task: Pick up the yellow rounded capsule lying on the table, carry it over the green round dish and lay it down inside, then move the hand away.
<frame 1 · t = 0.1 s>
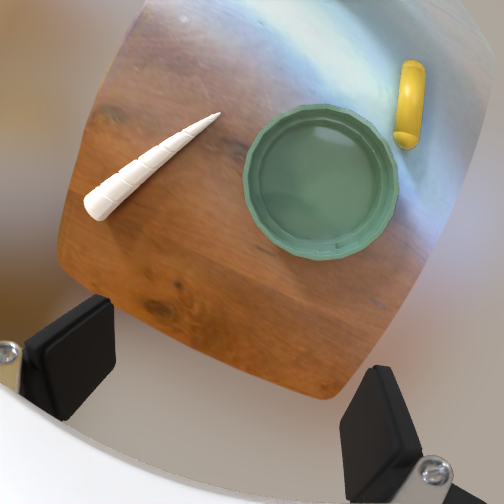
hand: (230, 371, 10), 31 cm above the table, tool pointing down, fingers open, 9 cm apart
unicorn horn: (149, 164, 40), on the table
green round dish: (319, 181, 37), on the table
yellow rounded capsule: (406, 105, 33), on the table
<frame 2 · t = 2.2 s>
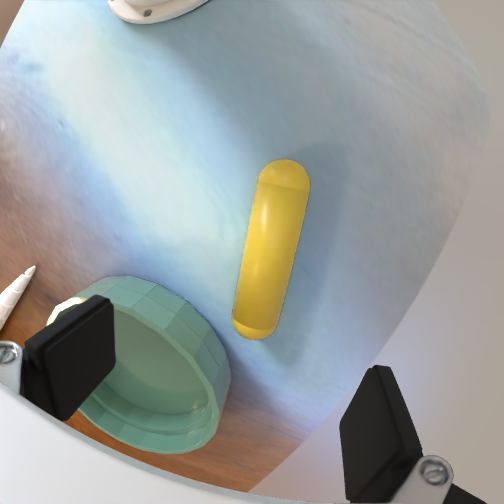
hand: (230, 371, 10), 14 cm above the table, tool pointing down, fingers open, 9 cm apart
unicorn horn: (6, 304, 30), on the table
green round dish: (144, 358, 27), on the table
yellow rounded capsule: (270, 249, 23), on the table
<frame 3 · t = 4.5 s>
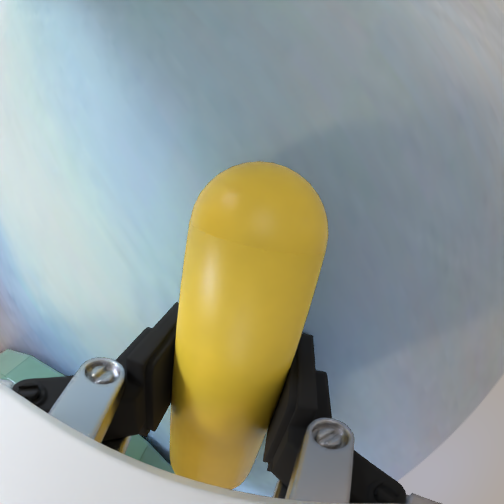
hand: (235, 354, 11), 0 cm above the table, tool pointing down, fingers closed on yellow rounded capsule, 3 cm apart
green round dish: (78, 448, 15), on the table
yellow rounded capsule: (237, 351, 11), on the table, touching gripper
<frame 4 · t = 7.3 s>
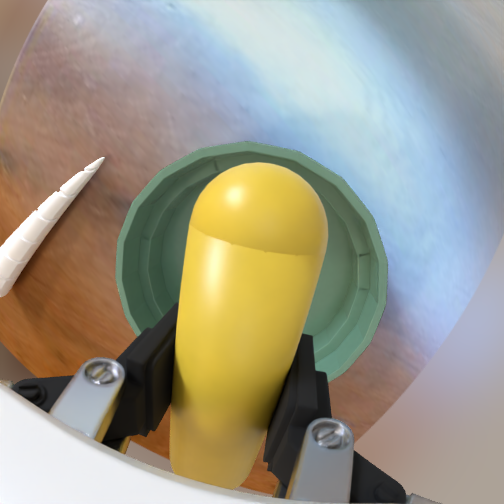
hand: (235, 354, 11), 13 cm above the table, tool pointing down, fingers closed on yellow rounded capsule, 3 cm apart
unicorn horn: (39, 230, 26), on the table
green round dish: (253, 267, 24), on the table
yellow rounded capsule: (237, 351, 11), point 13 cm above the table, touching gripper
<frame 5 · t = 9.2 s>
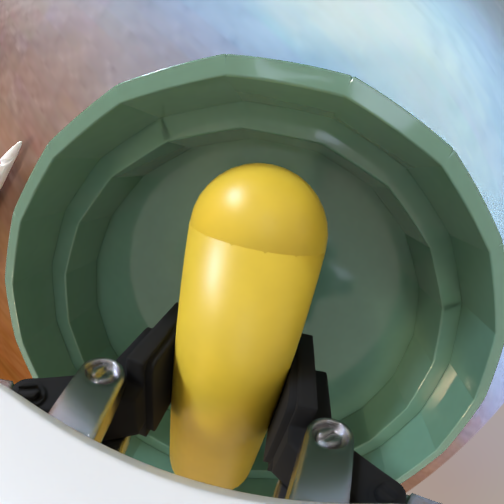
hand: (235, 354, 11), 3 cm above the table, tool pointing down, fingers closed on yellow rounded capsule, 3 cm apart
green round dish: (247, 320, 13), on the table
yellow rounded capsule: (237, 351, 11), point 2 cm above the table, touching gripper
when the fingers open (1 cm above the table, at t = 10.1 s): yellow rounded capsule stays where it is, resting on green round dish.
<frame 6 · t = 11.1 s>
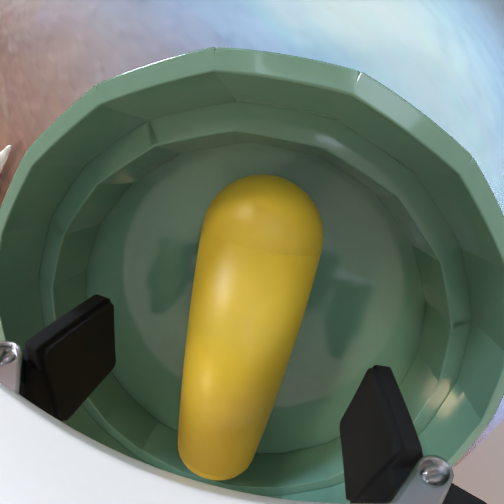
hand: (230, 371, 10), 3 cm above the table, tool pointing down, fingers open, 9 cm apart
green round dish: (243, 335, 12), on the table
yellow rounded capsule: (241, 344, 12), point 1 cm above the table, touching green round dish
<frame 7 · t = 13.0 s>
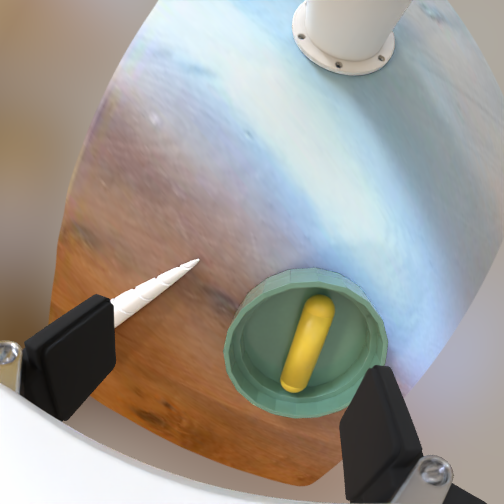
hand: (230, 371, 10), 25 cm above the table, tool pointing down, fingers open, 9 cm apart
unicorn horn: (128, 299, 38), on the table
green round dish: (305, 337, 36), on the table
yellow rounded capsule: (305, 339, 35), point 1 cm above the table, touching green round dish
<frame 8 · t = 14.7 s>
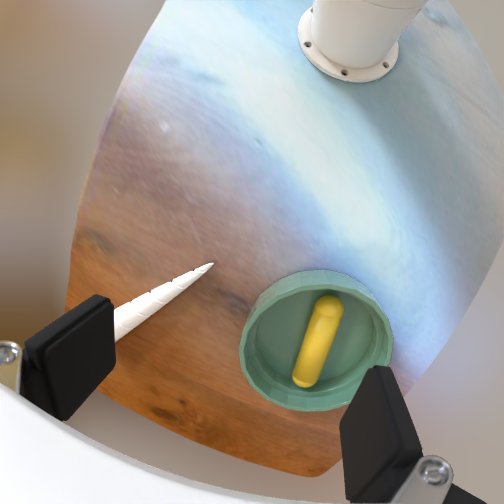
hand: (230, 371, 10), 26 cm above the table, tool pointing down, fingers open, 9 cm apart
unicorn horn: (144, 302, 40), on the table
green round dish: (315, 334, 37), on the table
yellow rounded capsule: (315, 337, 37), point 1 cm above the table, touching green round dish
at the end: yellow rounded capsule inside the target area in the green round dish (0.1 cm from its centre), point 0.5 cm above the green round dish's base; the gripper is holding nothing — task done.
